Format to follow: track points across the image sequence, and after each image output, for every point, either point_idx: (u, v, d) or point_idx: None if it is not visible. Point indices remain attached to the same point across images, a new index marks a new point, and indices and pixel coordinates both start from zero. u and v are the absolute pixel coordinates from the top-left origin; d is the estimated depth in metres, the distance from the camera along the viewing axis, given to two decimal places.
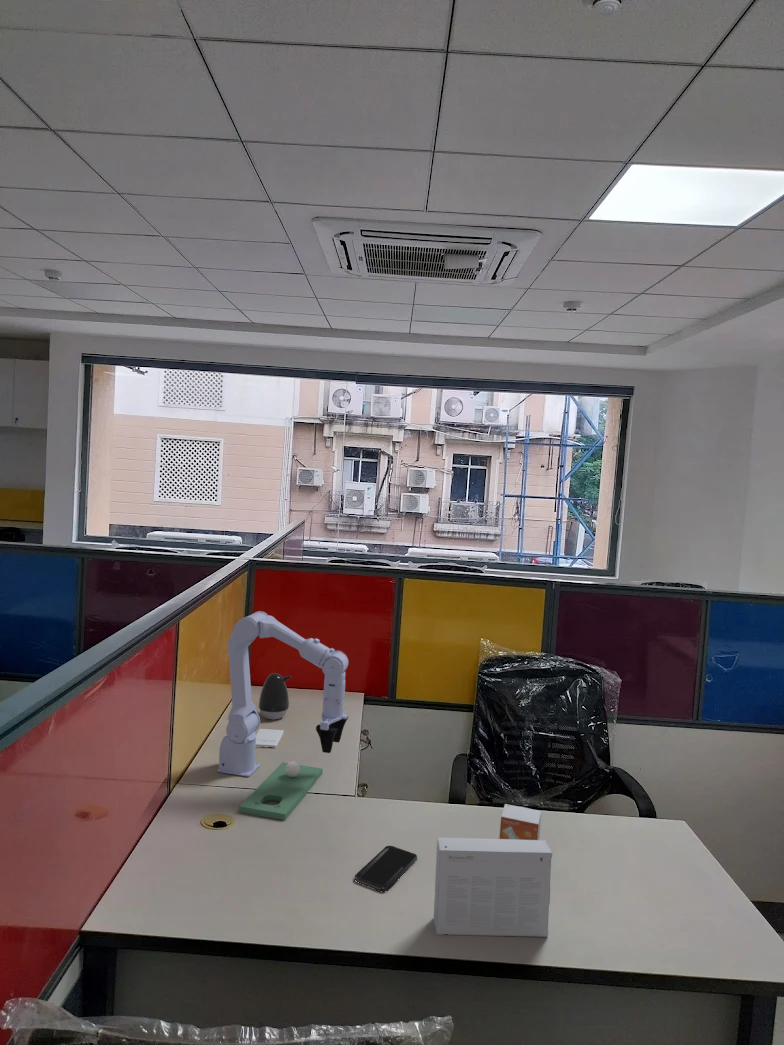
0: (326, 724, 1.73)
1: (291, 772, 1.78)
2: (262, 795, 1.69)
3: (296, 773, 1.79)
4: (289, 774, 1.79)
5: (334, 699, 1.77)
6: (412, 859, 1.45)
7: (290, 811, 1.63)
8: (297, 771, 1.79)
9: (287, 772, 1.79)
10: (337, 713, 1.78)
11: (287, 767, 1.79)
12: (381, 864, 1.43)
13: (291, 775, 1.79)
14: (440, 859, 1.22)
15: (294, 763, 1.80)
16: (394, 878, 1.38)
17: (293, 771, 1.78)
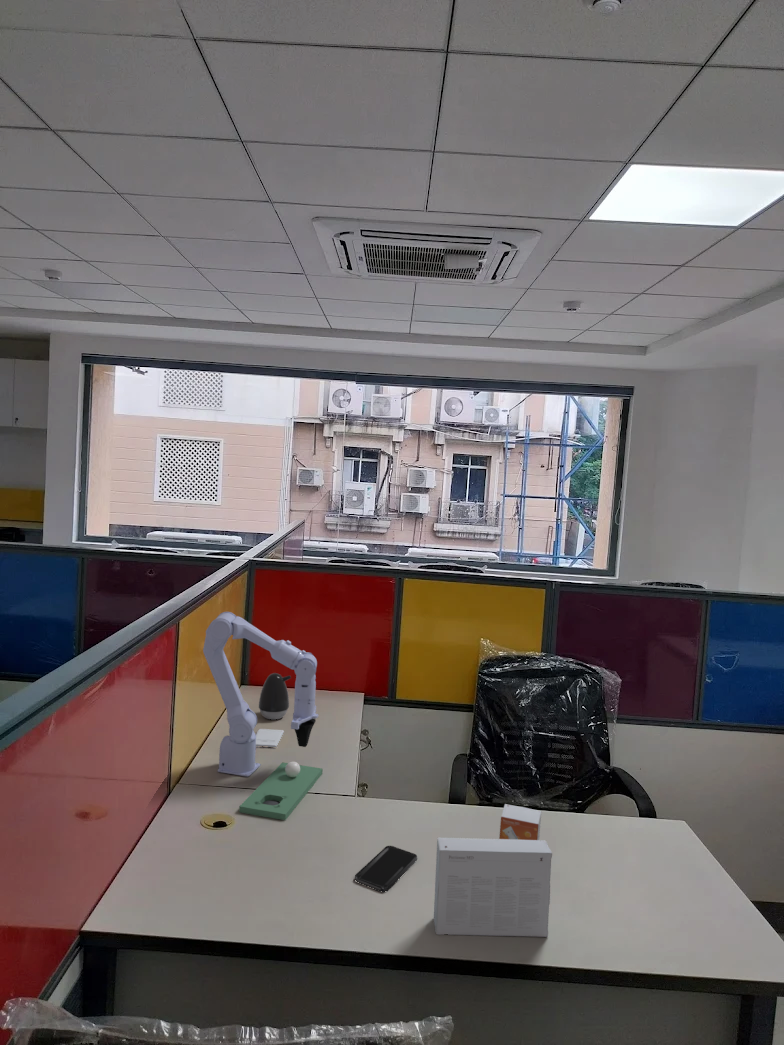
0: (296, 723, 1.79)
1: (291, 772, 1.78)
2: (262, 795, 1.69)
3: (296, 773, 1.79)
4: (289, 774, 1.79)
5: (307, 699, 1.83)
6: (412, 859, 1.45)
7: (290, 811, 1.63)
8: (297, 771, 1.79)
9: (287, 772, 1.79)
10: (308, 713, 1.84)
11: (287, 767, 1.79)
12: (381, 864, 1.43)
13: (291, 775, 1.79)
14: (440, 859, 1.22)
15: (294, 763, 1.80)
16: (394, 878, 1.38)
17: (293, 771, 1.78)
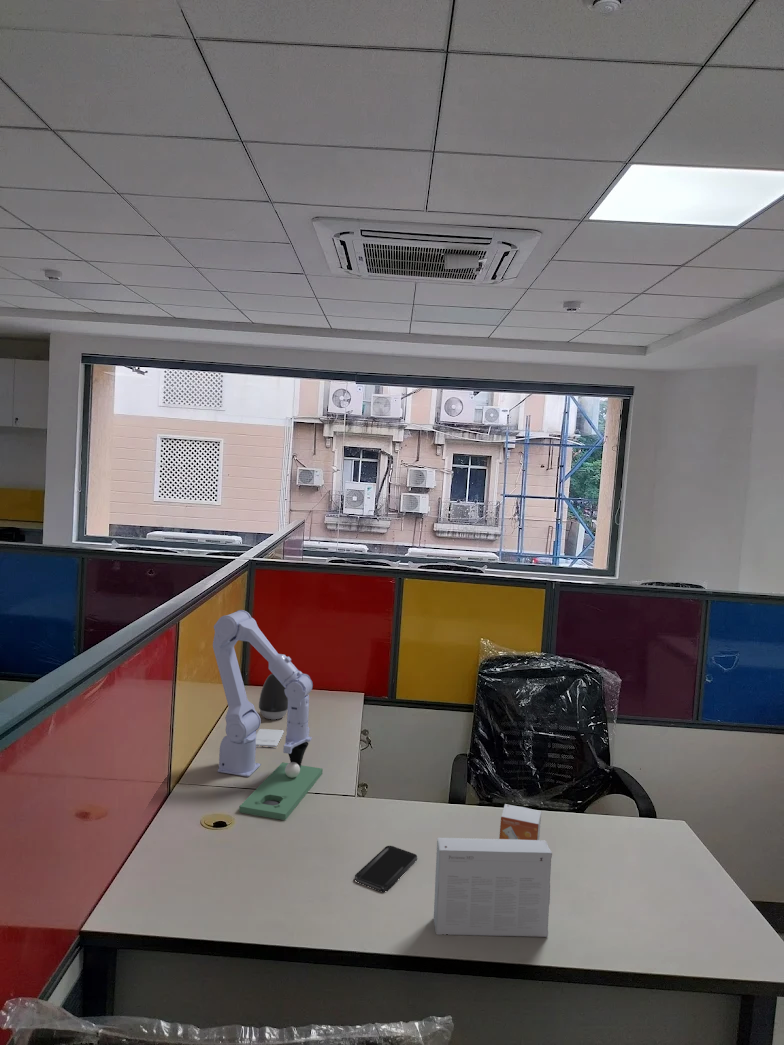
0: (289, 748, 1.75)
1: (291, 773, 1.78)
2: (262, 795, 1.69)
3: (296, 774, 1.79)
4: (289, 775, 1.78)
5: (296, 722, 1.79)
6: (412, 859, 1.45)
7: (290, 811, 1.63)
8: (297, 772, 1.79)
9: (287, 773, 1.78)
10: (301, 736, 1.79)
11: (287, 768, 1.79)
12: (381, 864, 1.43)
13: (291, 776, 1.78)
14: (440, 859, 1.22)
15: (294, 764, 1.79)
16: (394, 878, 1.38)
17: (293, 772, 1.78)
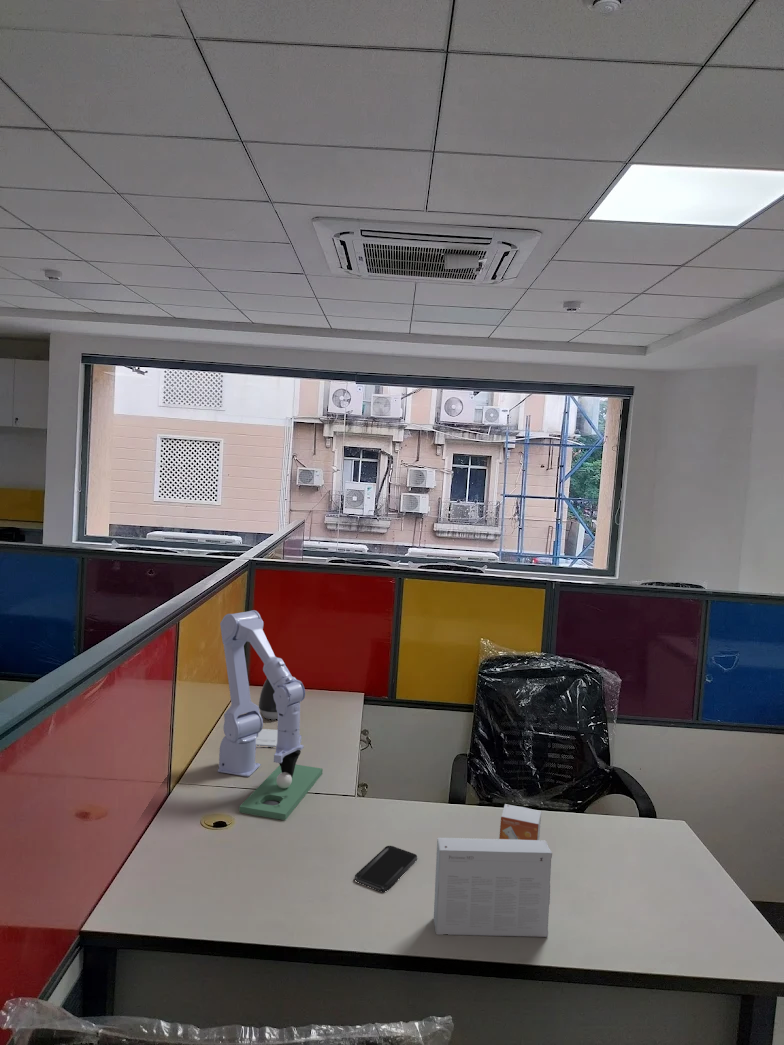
0: (280, 757, 1.67)
1: None
2: (262, 795, 1.69)
3: (290, 775, 1.74)
4: None
5: (283, 729, 1.72)
6: (412, 859, 1.45)
7: (290, 811, 1.63)
8: (291, 777, 1.74)
9: None
10: (292, 745, 1.72)
11: None
12: (381, 864, 1.43)
13: None
14: (440, 859, 1.22)
15: None
16: (394, 878, 1.38)
17: None
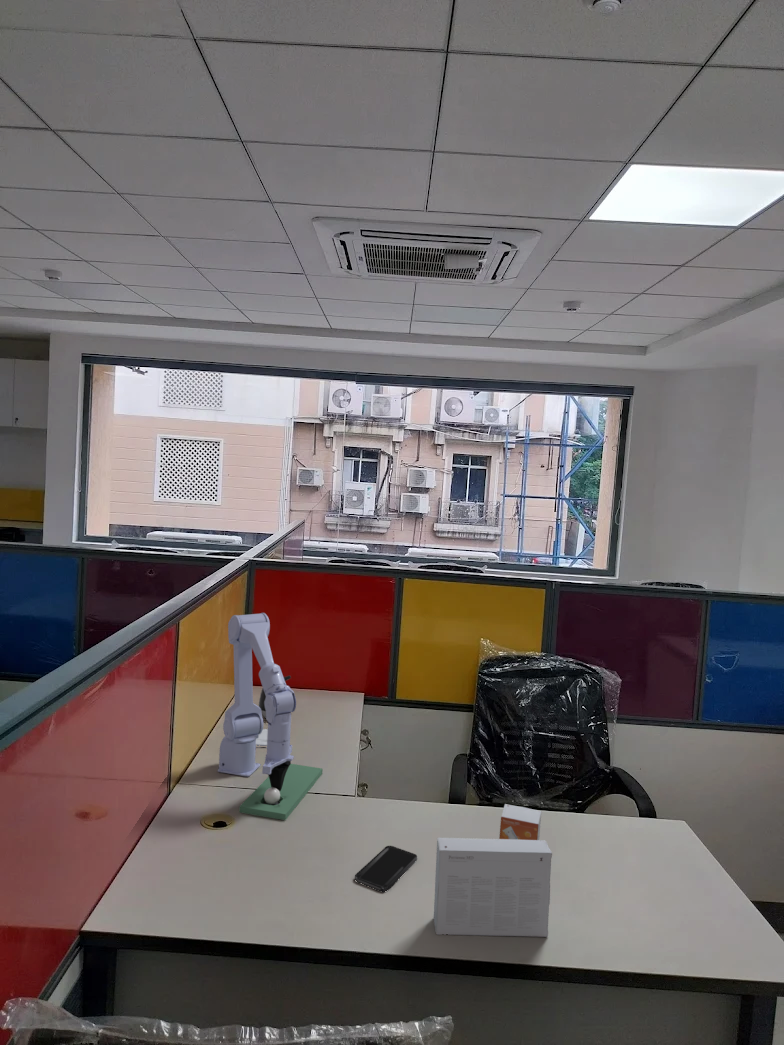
0: (268, 768, 1.62)
1: None
2: (262, 795, 1.69)
3: None
4: None
5: (270, 739, 1.66)
6: (412, 859, 1.45)
7: (290, 811, 1.63)
8: None
9: None
10: (282, 755, 1.67)
11: None
12: (381, 864, 1.43)
13: None
14: (440, 859, 1.22)
15: (273, 803, 1.66)
16: (394, 878, 1.38)
17: None
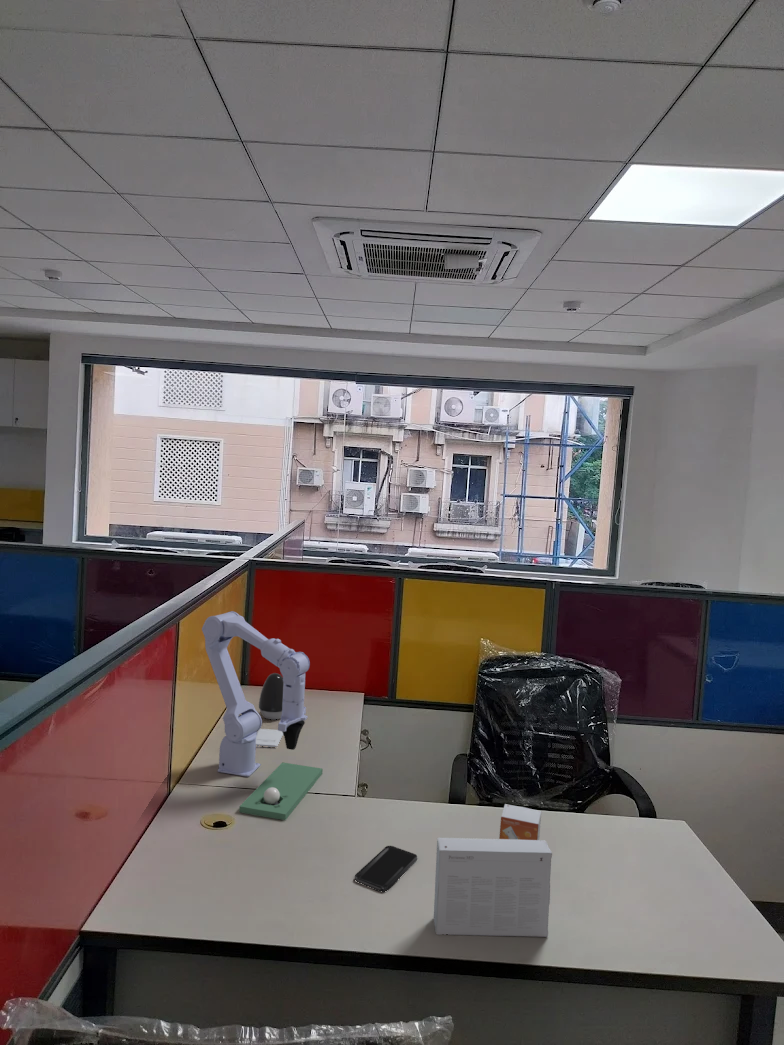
0: (284, 725, 1.72)
1: None
2: (262, 795, 1.69)
3: None
4: None
5: (291, 700, 1.76)
6: (412, 859, 1.45)
7: (290, 811, 1.63)
8: None
9: None
10: (296, 715, 1.77)
11: None
12: (381, 864, 1.43)
13: None
14: (440, 859, 1.22)
15: (273, 803, 1.66)
16: (394, 878, 1.38)
17: None
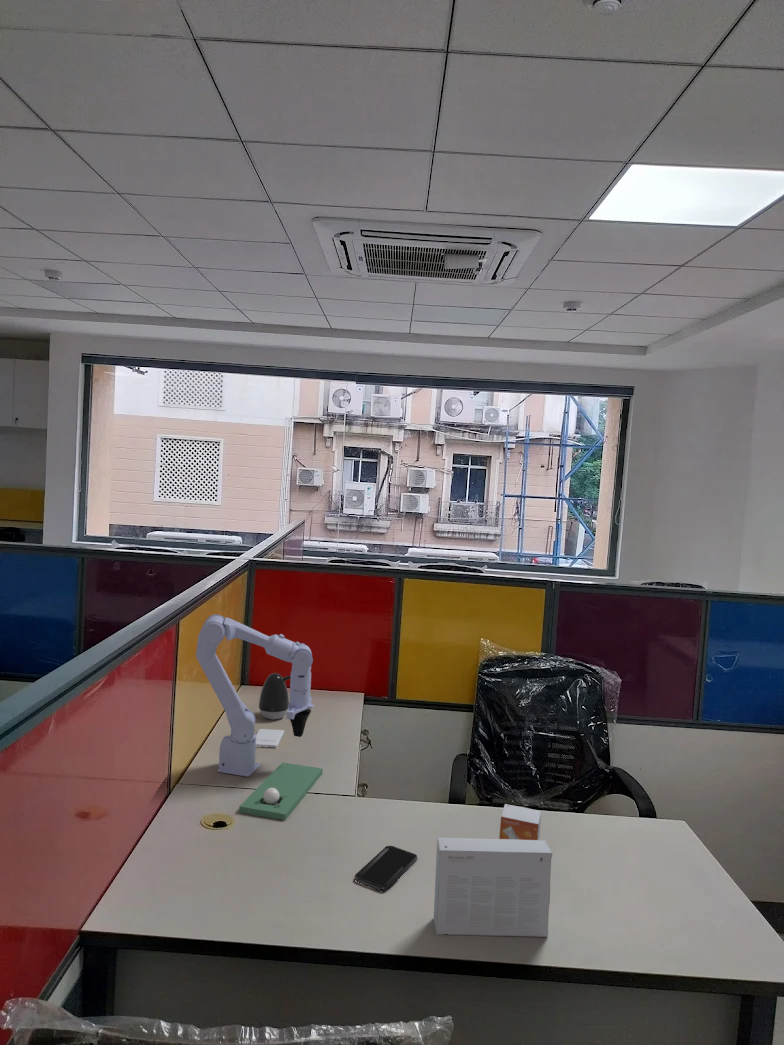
0: (292, 713, 1.81)
1: None
2: (262, 795, 1.69)
3: None
4: None
5: (304, 689, 1.85)
6: (412, 859, 1.45)
7: (290, 811, 1.63)
8: None
9: None
10: (303, 703, 1.86)
11: None
12: (381, 864, 1.43)
13: None
14: (440, 859, 1.22)
15: (273, 803, 1.66)
16: (394, 878, 1.38)
17: None
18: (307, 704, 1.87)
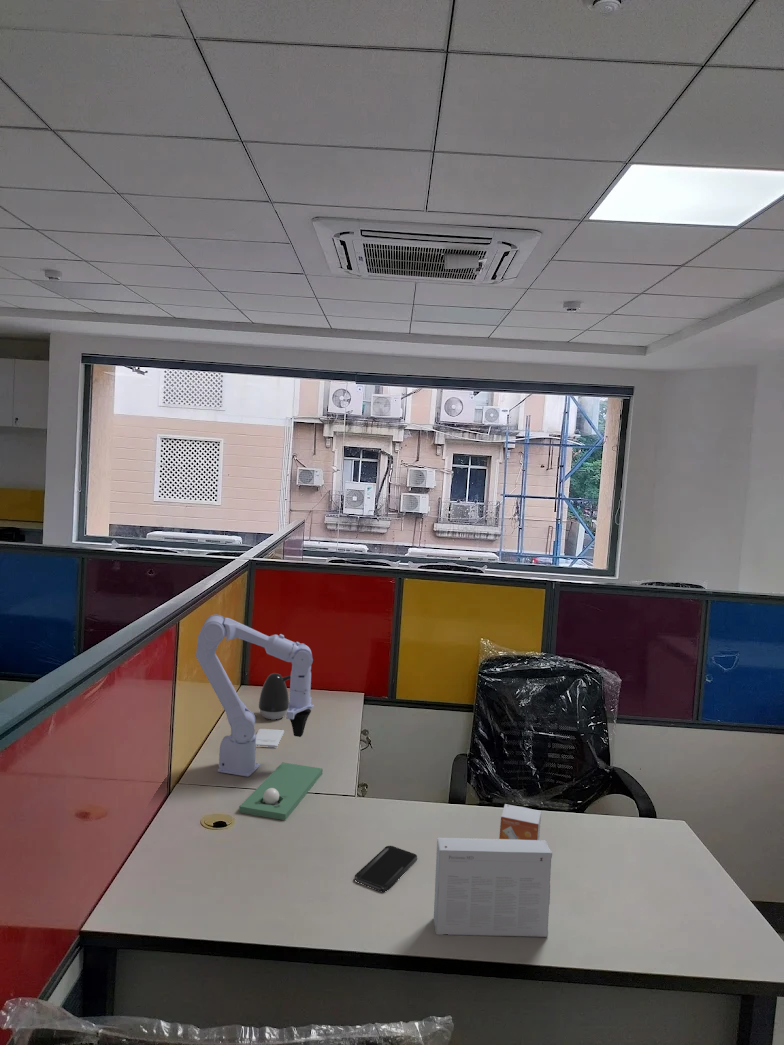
0: (292, 713, 1.81)
1: None
2: (262, 795, 1.69)
3: None
4: None
5: (304, 689, 1.85)
6: (412, 859, 1.45)
7: (290, 811, 1.63)
8: None
9: None
10: (303, 703, 1.86)
11: None
12: (381, 864, 1.43)
13: None
14: (440, 859, 1.22)
15: (273, 804, 1.66)
16: (394, 878, 1.38)
17: None
18: (307, 704, 1.87)
